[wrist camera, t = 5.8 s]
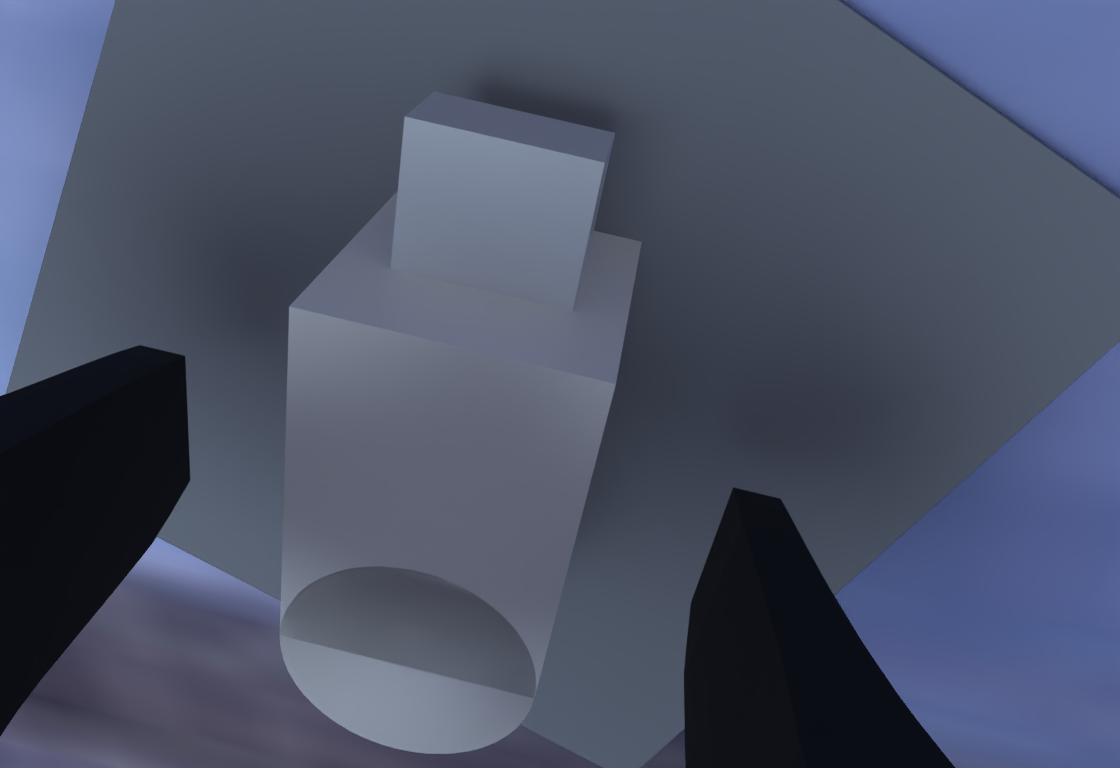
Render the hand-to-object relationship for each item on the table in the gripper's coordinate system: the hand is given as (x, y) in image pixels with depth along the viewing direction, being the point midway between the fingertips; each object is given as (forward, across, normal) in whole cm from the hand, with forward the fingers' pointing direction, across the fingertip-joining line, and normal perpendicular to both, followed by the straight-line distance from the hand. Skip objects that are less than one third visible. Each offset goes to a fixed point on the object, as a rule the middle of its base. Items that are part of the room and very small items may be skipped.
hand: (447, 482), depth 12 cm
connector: (+3, 0, 0) cm, 3 cm away
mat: (+3, 0, 0) cm, 3 cm away
